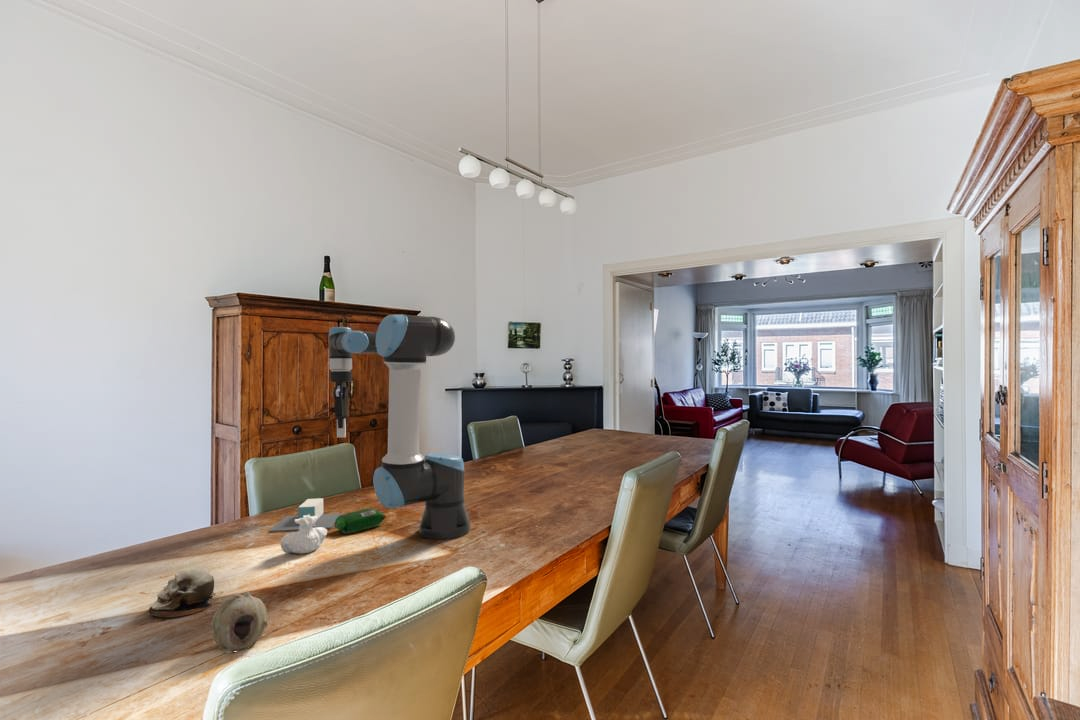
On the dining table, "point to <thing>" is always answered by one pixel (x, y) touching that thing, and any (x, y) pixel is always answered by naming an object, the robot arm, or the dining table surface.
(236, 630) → the grey-brown rounded hollow piece
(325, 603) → the dining table surface
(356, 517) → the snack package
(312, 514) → the tall block
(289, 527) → the rubber mat
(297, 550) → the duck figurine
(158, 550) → the dining table surface
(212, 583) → the skull
